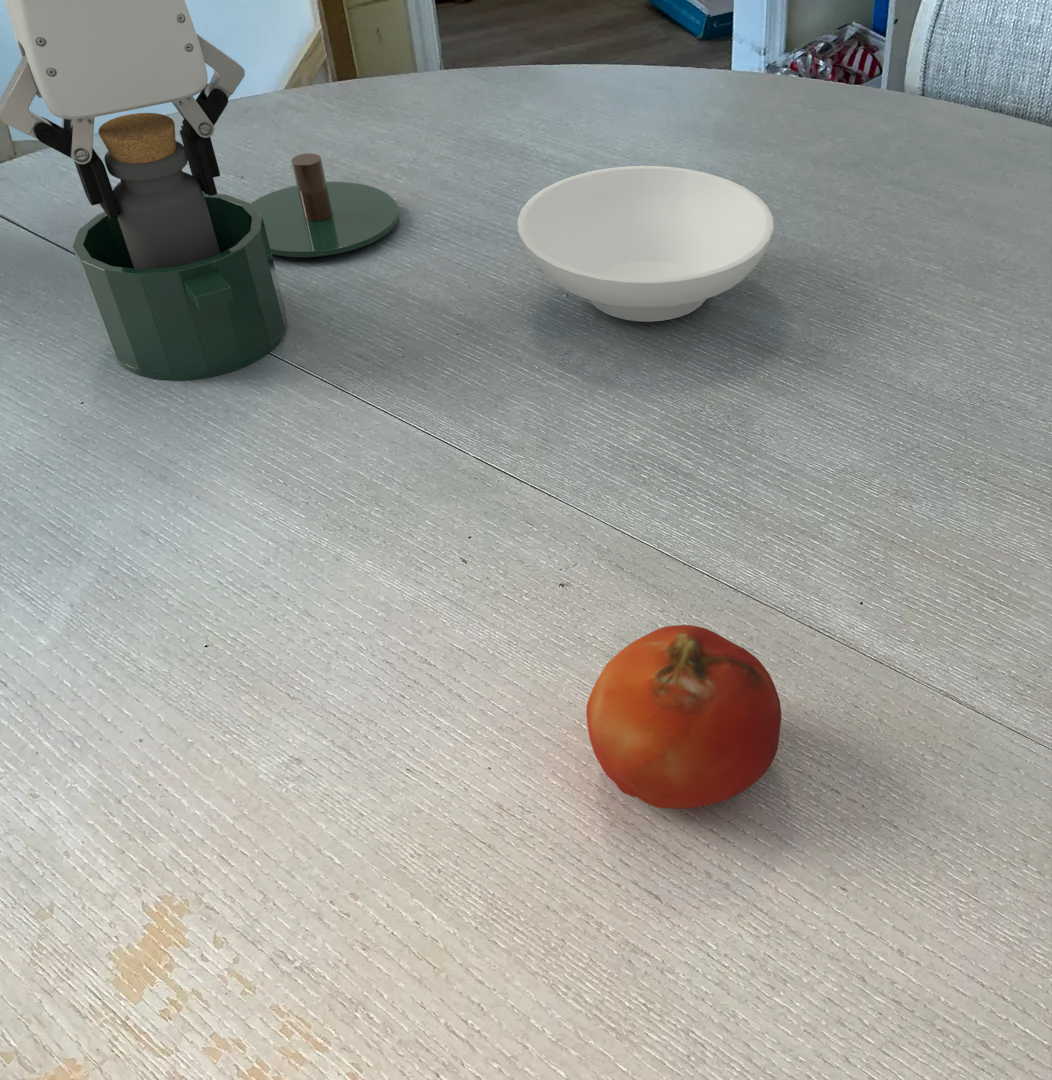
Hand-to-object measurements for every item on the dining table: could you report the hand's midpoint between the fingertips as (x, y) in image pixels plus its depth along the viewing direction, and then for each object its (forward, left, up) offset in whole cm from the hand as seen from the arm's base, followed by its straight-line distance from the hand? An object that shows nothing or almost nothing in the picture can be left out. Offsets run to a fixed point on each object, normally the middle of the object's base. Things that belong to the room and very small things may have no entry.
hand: (158, 197), depth 81 cm
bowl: (+31, -14, -11) cm, 36 cm away
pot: (0, 0, -11) cm, 11 cm away
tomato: (+7, -54, -11) cm, 56 cm away
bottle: (0, 0, -10) cm, 10 cm away
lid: (+14, +12, -10) cm, 21 cm away
